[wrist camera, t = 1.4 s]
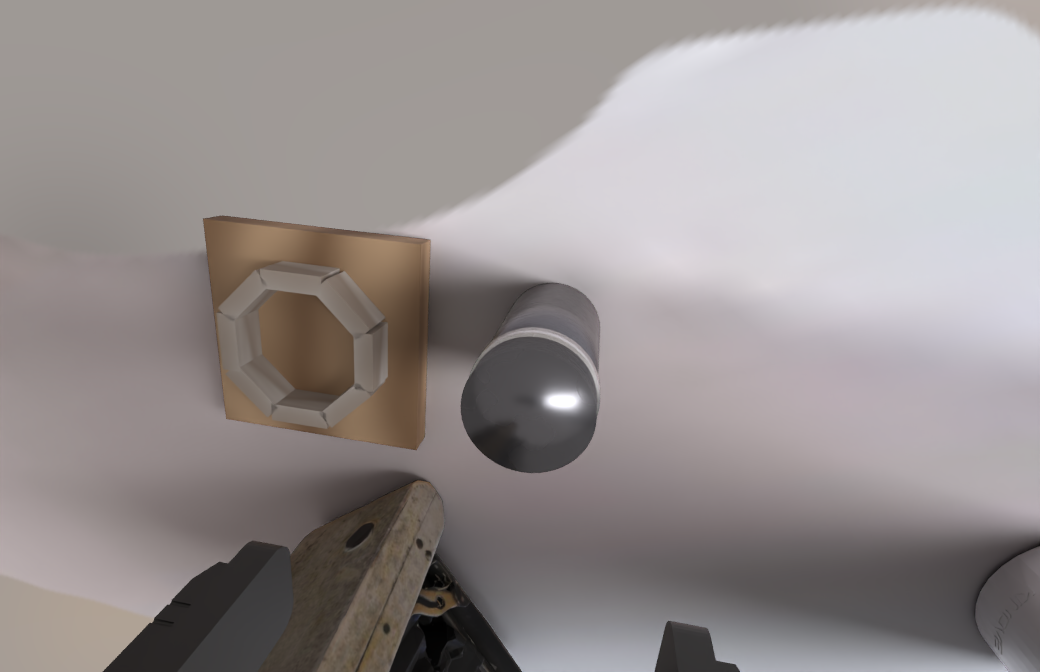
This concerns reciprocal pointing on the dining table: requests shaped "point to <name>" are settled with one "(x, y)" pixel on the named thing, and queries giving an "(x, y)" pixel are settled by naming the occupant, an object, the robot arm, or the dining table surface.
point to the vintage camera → (383, 597)
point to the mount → (321, 328)
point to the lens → (537, 382)
